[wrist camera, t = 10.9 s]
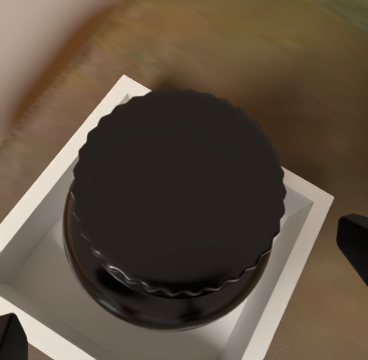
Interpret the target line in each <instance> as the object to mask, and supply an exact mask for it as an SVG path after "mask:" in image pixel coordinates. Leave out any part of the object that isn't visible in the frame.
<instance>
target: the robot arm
mask: <svg viewBox="0 0 368 360" xmlns="http://www.w3.org/2000/svg"><path fill="white" fill-rule="evenodd" d="M336 241H337V245H338V247H339V249H340V250H341V252H342V253H343V254H344V256H345V257H346V258H347V260H348V261H349V262H350V264H351V265H352V266H353V268H354V269H355V270H356V272H357V273H358V275H359V276H360V277H361V279H362V280H363V281H364V283H365V284H366V285H367V286H368V217H364V216H361V215H357V214H349V215H346V216H342V217H340V218H339V220H338V227H337V237H336ZM0 360H28V340H27V336H26V333H25V331H24V329H23V327H22V325H21V323H20V321H19V319H18V317H17V315H16V314H15V313H8V314H4V315H1V316H0Z"/></svg>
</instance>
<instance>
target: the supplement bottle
mask: <svg viewBox="0 0 368 360" xmlns="http://www.w3.org/2000/svg"><path fill="white" fill-rule="evenodd" d="M78 158H79V161H78V162H77V163H76V165H75V167H74V168H73V176H74V178H73V180H72V183H71V185H70V187H69V190H68V193H67V195H66V199H65V203H64V208H63V215H62V238H63V244H64V250H65V254H66V257H67V260H68V263H69V265H70V268H71V270H72V272H73V274H74V276H75V278H76V280H77V281H78V283H79V284H80V286H81V287H82V289H83V290H84V291H85V293H86V294H87V295H88V296H89V297H90V298H91V299H92V300H93V301H94V302H95V303H96V304H97V305H98V306H99V307H100V308H101V309H103V310H104V311H105V312H107V313H108V314H110V315H111V316H113V317H115V318H116V319H118V320H120V321H122V322H124V323H126V324H129V325H132V326H134V327H137V328H141V329H145V330H149V331H157V332H180V331H187V330H192V329H197V328H200V327H203V326H206V325H208V324H211V323H213V322H215V321H217V320H219V319H221V318H223V317H224V316H226V315H228V314H229V313H230V312H232V311H233V310H235V309H236V308H237V307H238V306H239V305H240V304H241V303H242V302H244V300H245V299H246V298H247V297H248V296H249V295H250V294H251V292H252V291H253V290H254V288H255V287H256V286H257V284H258V282H259V281H260V279H261V277H262V276H263V274H264V271H265V269H266V267H267V265H268V262H269V259H270V256H271V251H272V247H273V241H274V238H275V237H276V236H277V235H278V234H279V233H280V220H281V218H282V217H283V216H284V214H285V206H284V199H285V197H286V193H287V191H286V188H285V185H284V183H283V179H284V171H283V169H282V167H281V166H280V164H279V154H278V153H277V152H276V150H275V149H274V148H273V147H272V146H271V141H270V138H269V136H267V135H266V134H265V133H264V132H262V131H261V129H260V127H259V125H258V123H257V122H256V121H254V120H253V119H251V118H249V117H248V116H247V115H246V113H245V112H244V111H243V110H242V109H240V108H237V107H234V106H232V105H231V104H230V103H229V102H228V101H227V100H225V99H220V98H216V97H214V96H213V95H211V94H210V93H198V92H196V91H194V90H192V89H185V90H176V89H173V88H169V89H166V90H164V91H150V92H148V93H147V94H145V95H144V96H134V97H132V98H131V99H130V100H129V101H128V102H127V103H124V104H119V105H116V106H115V107H114V109H113V110H112V112H111V113H110V114H108V115H105V116H103V117H101V118H100V120H99V122H98V124H97V126H96V127H95V128H93V129H92V130H91V131H89V132H88V134H87V141H86V143H85V144H84V145H83V146H82V147H81V148H80V149H79V151H78Z"/></svg>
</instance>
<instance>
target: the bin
mask: <svg viewBox="0 0 368 360" xmlns="http://www.w3.org/2000/svg"><path fill="white" fill-rule="evenodd" d="M150 91H151V90H149V89H147V88H146V87H144V86H142V85H141V84H139V83H137V82H135V81H134V80H132V79H130V78H129V77H127V76H125V75H123V76H122V77H121V78H120V80H119V81H118V82H117V83H116V84H115V86H114V87H113V88H112V89H111V90H110V92H109V93H108V94H107V95H106V97H105V98H104V99H103V100H102V101H101V103H100V104H99V105H98V106H97V107H96V109H95V110H94V111H93V112H92V114H91V115H90V116H89V117H88V118H87V120H86V121H85V122H84V123H83V124H82V126H81V127H80V128H79V129H78V131H77V132H76V133H75V134H74V135H73V137H72V138H71V139H70V140H69V141H68V143H67V144H66V145H65V146H64V148H63V149H62V150H61V151H60V152H59V154H58V155H57V156H56V157H55V158H54V160H53V161H52V162H51V163H50V165H49V166H48V167H47V168H46V169H45V171H44V172H43V173H42V174H41V175H40V177H39V178H38V179H37V180H36V182H35V183H34V184H33V185H32V186H31V188H30V189H29V190H28V191H27V192H26V194H25V195H24V196H23V197H22V199H21V200H20V201H19V202H18V203H17V205H16V206H15V207H14V208H13V209H12V211H11V212H10V213H9V214H8V216H7V217H6V218H5V219H4V220H3V222H2V223H1V224H0V316H1V315H4V314H8V313H15V314H16V315H17V317H18V319H19V321H20V323H21V325H22V327H23V329H24V331H25V333H26V336H27V340H28V342H29V343H30V344H32V345H33V346H35V347H36V348H38V349H39V350H41V351H42V352H44V353H45V354H47V355H48V356H50V357H51V358H53V359H54V360H263V358H264V356H265V354H266V352H267V349H268V347H269V345H270V343H271V340H272V338H273V336H274V333H275V331H276V329H277V327H278V324H279V322H280V320H281V318H282V315H283V313H284V311H285V308H286V306H287V304H288V302H289V299H290V297H291V295H292V292H293V290H294V288H295V286H296V283H297V281H298V279H299V277H300V274H301V272H302V270H303V267H304V265H305V263H306V261H307V258H308V256H309V254H310V251H311V249H312V247H313V245H314V242H315V240H316V238H317V236H318V233H319V231H320V229H321V226H322V224H323V222H324V220H325V217H326V215H327V213H328V211H329V208H330V206H331V204H332V201H333V199H334V197H333V196H332V195H330V194H328V193H326V192H325V191H323V190H321V189H320V188H318V187H316V186H314V185H313V184H311V183H309V182H308V181H306V180H304V179H302V178H301V177H299V176H297V175H295V174H294V173H292V172H290V171H289V170H287V169H285V168H283V167H282V166H281V167H282V169H283V171H284V179H283V183H284V185H285V188H286V191H287V193H286V197H285V199H284V206H285V214H284V216H283V217H282V218H281V220H280V233H279V234H278V235H277V236H276V237H275V238H274V241H273V247H272V251H271V256H270V259H269V262H268V265H267V267H266V269H265V271H264V274H263V276H262V277H261V279H260V281H259V282H258V284H257V286H256V287H255V288H254V290H253V291H252V292H251V294H250V295H249V296H248V297H247V298H246V299H245V300H244V302H242V303H241V304H240V305H239V306H238V307H237V308H236V309H235V310H233V311H232V312H230V313H229V314H228V315H226V316H224V317H223V318H221V319H219V320H217V321H215V322H213V323H211V324H208V325H206V326H203V327H200V328H197V329H192V330H187V331H180V332H157V331H149V330H145V329H141V328H137V327H134V326H132V325H129V324H126V323H124V322H122V321H120V320H118V319H116V318H115V317H113V316H111V315H110V314H108V313H107V312H105V311H104V310H103V309H101V308H100V307H99V306H98V305H97V304H96V303H95V302H94V301H93V300H92V299H91V298H90V297H89V296H88V295H87V294H86V293H85V291H84V290H83V289H82V287H81V286H80V284H79V283H78V281H77V280H76V278H75V276H74V274H73V272H72V270H71V268H70V265H69V263H68V260H67V257H66V254H65V250H64V244H63V238H62V215H63V208H64V203H65V199H66V195H67V193H68V190H69V187H70V185H71V183H72V180H73V178H74V176H73V168H74V167H75V165H76V163H77V162H78V161H79V158H78V151H79V149H80V148H81V147H82V146H83V145H84V144H85V143H86V141H87V134H88V132H89V131H91V130H92V129H93V128H95V127H96V126H97V124H98V122H99V120H100V118H101V117H103V116H105V115H108V114H110V113H111V112H112V110H113V109H114V107H115V106H116V105H119V104H124V103H127V102H128V101H129V100H130V99H131V98H132V97H134V96H144V95H145V94H147V93H148V92H150Z"/></svg>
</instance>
